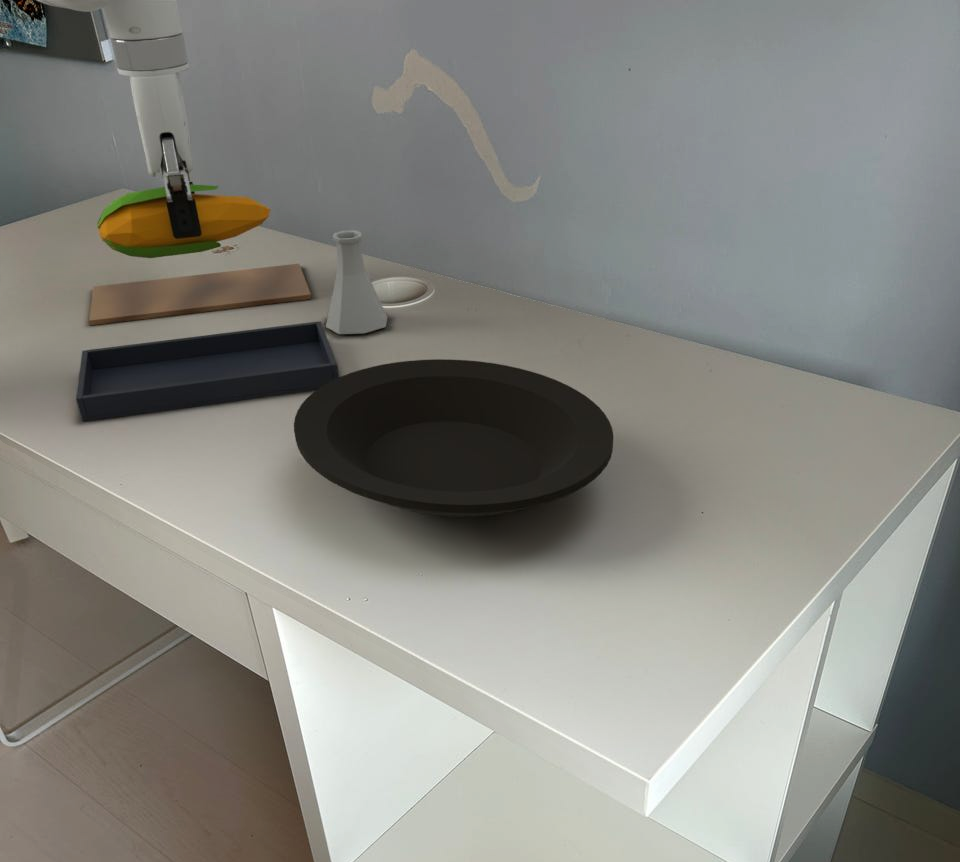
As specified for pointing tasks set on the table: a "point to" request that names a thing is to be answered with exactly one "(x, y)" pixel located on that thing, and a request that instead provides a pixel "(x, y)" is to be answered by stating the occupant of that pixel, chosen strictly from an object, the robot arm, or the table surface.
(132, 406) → the tray
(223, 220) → the corn
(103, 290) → the board
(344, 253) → the flask
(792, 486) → the table surface
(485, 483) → the plate
